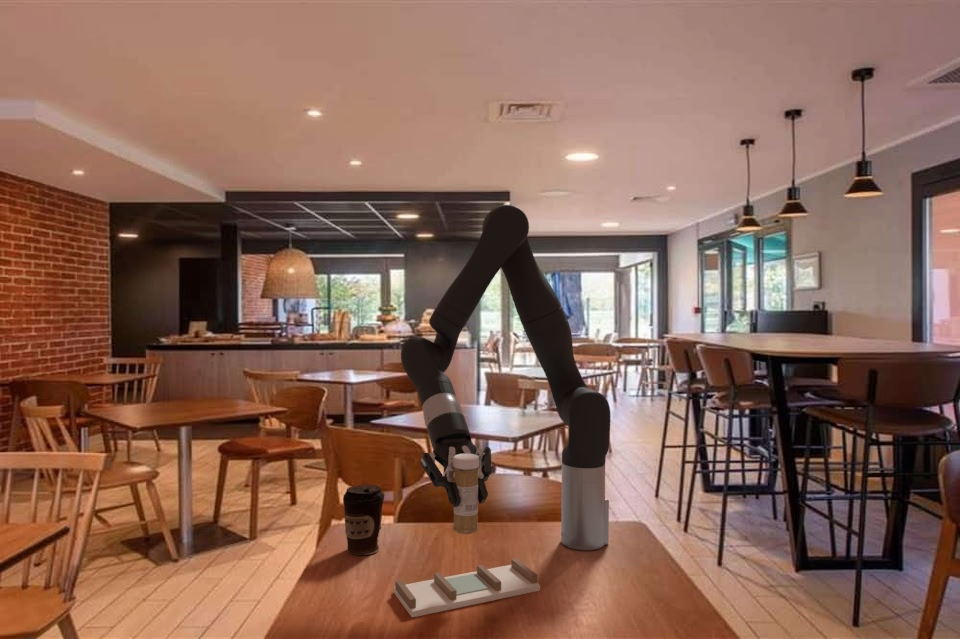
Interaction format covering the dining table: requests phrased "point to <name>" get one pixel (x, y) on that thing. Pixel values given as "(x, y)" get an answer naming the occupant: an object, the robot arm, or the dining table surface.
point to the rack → (466, 588)
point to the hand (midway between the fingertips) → (470, 502)
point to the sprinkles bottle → (466, 493)
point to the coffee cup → (363, 518)
